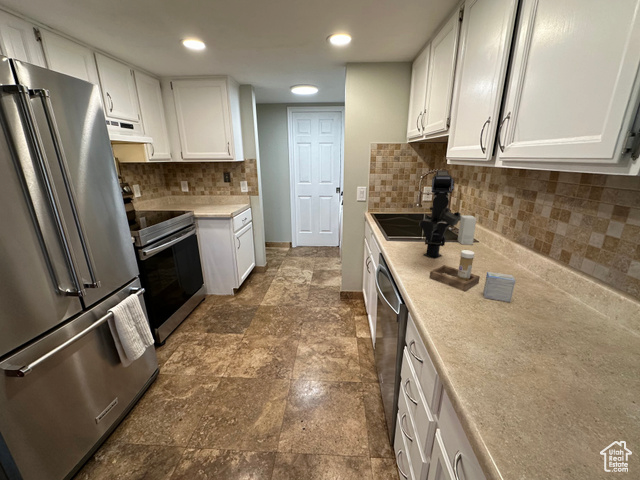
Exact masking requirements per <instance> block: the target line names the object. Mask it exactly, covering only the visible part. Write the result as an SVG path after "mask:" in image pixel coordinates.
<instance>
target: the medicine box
mask: <svg viewBox="0 0 640 480" xmlns="http://www.w3.org/2000/svg"><path fill="white" fill-rule="evenodd" d="M515 284H516V279H515V277H514V275H513V274H512V275H511V274H505V273H499V272H492V271H486V277H485V282H484V286H483V293H482V294H483V297H484V299H489V300H494V301H495V300H496V301H501V302H507V303H511V301H512V298H513V293H514V289H515V286H516V285H515Z"/></svg>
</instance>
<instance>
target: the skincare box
mask: <svg viewBox="0 0 640 480" xmlns="http://www.w3.org/2000/svg"><path fill="white" fill-rule="evenodd" d="M460 219H461V220H460V221H459V227H458V236H457V242H459V243H460V244H461V245H465V246H467V245H468V246H469V245H470V246H471V245H472V246H473V245H474V240H475V238H474V237H475V231H476V224H477V217H475V216H473V215H463V214H462V215H461V218H460Z"/></svg>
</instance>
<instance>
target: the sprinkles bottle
mask: <svg viewBox="0 0 640 480" xmlns="http://www.w3.org/2000/svg"><path fill="white" fill-rule="evenodd" d="M474 258H475V252H474V251H473V250H468V249H466V250H464V249H463V250H461V252H460V260H459V265H458V269H459V270H458V277H456V278H458V279H461V280H464V281H469V279H470V275H471V274H472V269H473V261H474Z"/></svg>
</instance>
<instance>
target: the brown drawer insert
mask: <svg viewBox="0 0 640 480" xmlns="http://www.w3.org/2000/svg"><path fill="white" fill-rule="evenodd" d="M458 270H459V268H455V267H452V266H448V265H445V264H444V265H443V264H442V265H441V266H439V267H437V268H435V269H432V270H431V271H429V279H431V280H433V281H436V282H438V283H441V284H445V285H447V286H450V287H452V288H455V289H458V290H460V291H464V292H467V291H469V290H470V289H471V288H474V287H475V286H477V285H478V284H479V283H480V278H481V276H480V275H477V274H474V273H471V275H470V279H469V281H464V280H461V279H458V278H457V277H458Z"/></svg>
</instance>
